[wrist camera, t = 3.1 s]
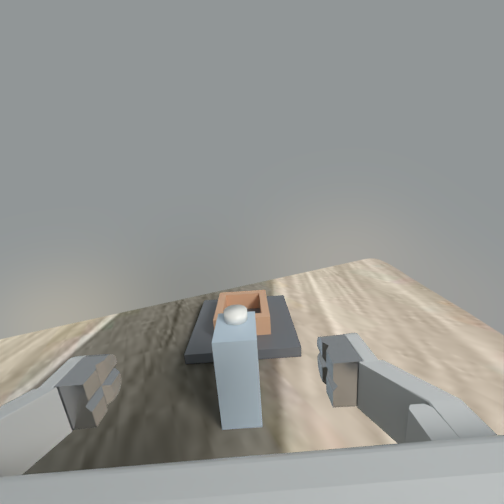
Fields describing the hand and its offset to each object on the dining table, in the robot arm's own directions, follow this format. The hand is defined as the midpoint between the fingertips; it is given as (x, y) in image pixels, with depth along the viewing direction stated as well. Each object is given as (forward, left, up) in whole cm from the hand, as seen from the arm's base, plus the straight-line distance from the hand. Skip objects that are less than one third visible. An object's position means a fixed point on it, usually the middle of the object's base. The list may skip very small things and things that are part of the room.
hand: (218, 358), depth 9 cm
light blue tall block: (0, +12, -16) cm, 20 cm away
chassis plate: (0, +27, -16) cm, 32 cm away
